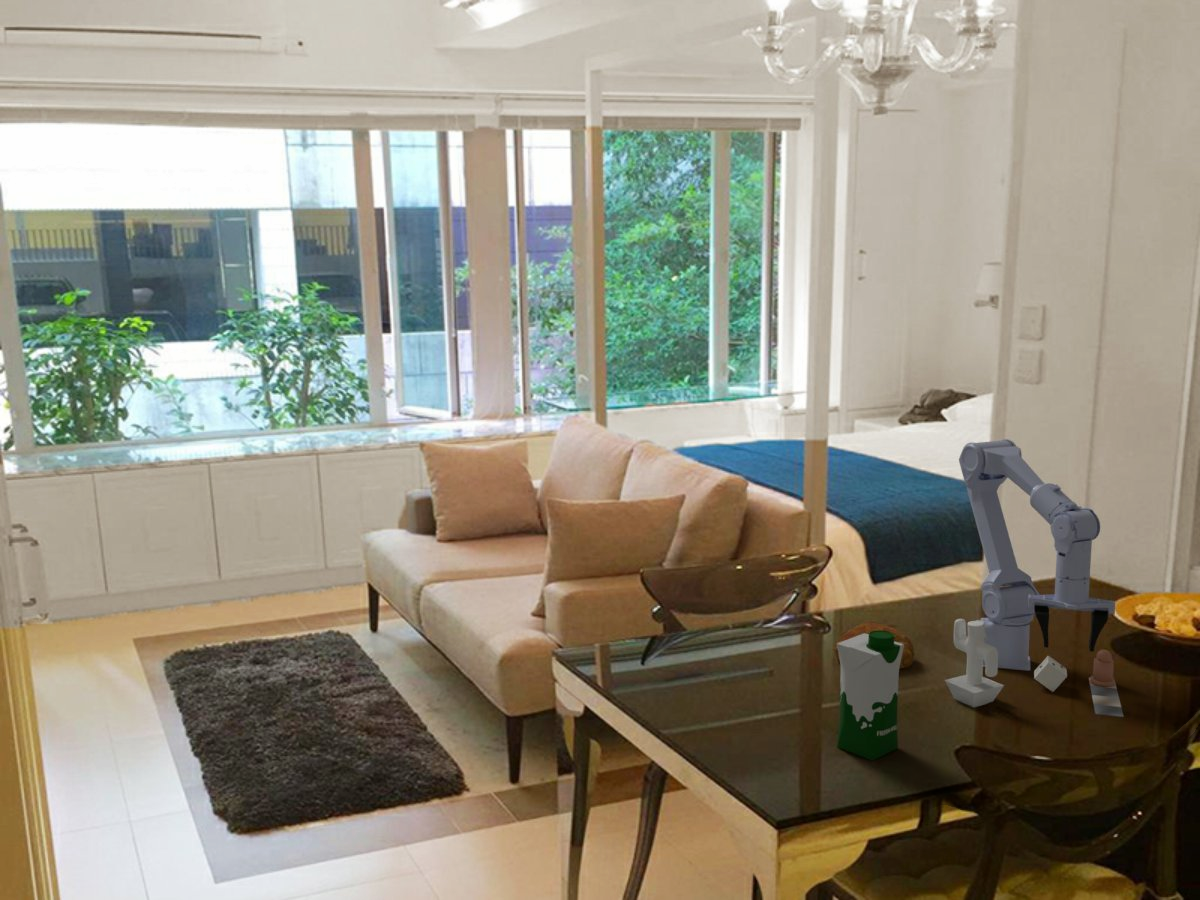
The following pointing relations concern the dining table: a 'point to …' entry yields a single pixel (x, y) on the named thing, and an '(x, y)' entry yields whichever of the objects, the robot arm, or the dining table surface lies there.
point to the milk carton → (869, 694)
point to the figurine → (975, 665)
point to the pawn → (1103, 670)
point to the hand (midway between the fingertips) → (1068, 647)
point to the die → (1050, 673)
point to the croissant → (872, 626)
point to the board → (1106, 700)
